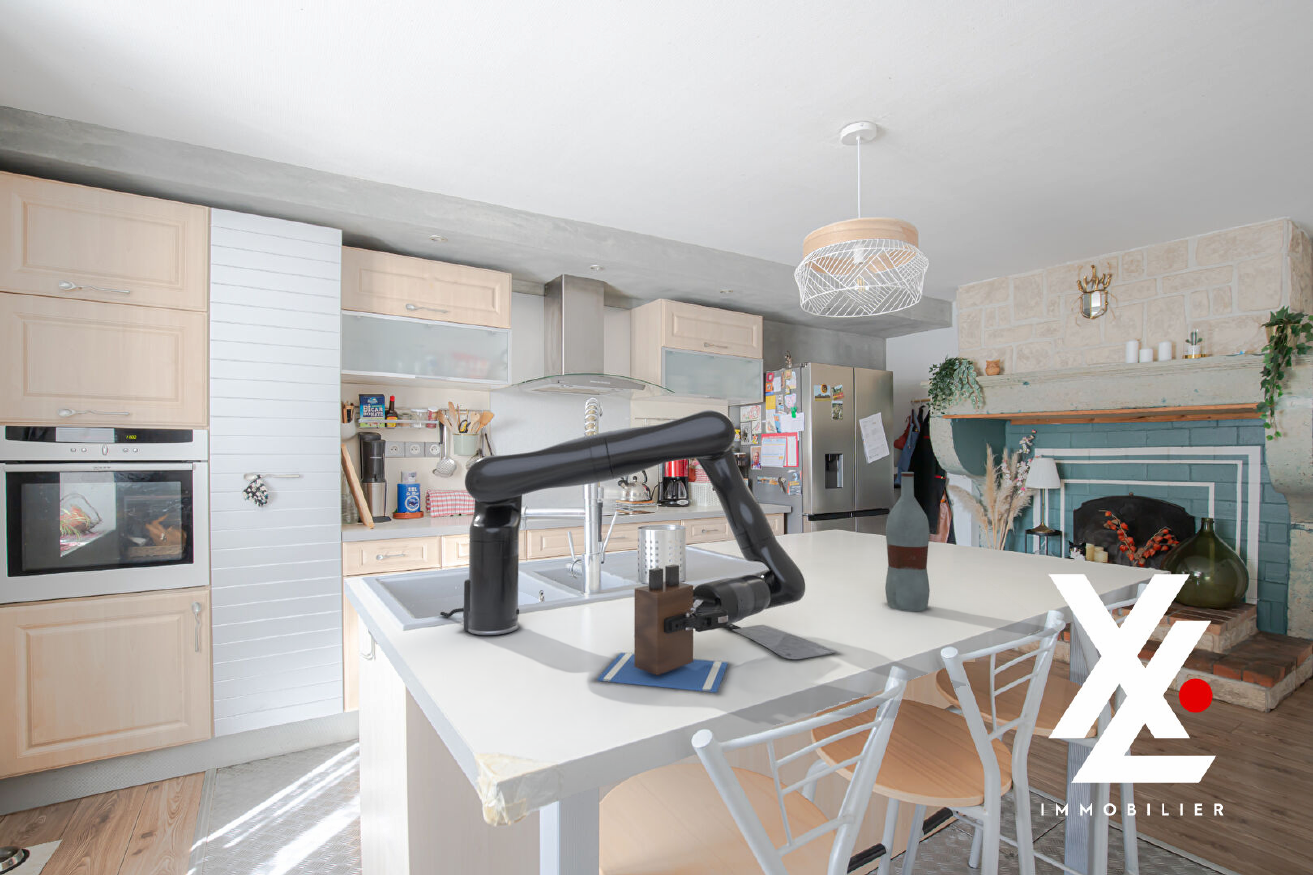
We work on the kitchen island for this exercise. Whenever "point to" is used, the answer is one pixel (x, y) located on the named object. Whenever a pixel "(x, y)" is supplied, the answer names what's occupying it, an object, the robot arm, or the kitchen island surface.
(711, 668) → the towel
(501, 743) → the kitchen island surface
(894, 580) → the bottle
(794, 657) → the cleaver
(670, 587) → the knife block
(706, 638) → the kitchen island surface
